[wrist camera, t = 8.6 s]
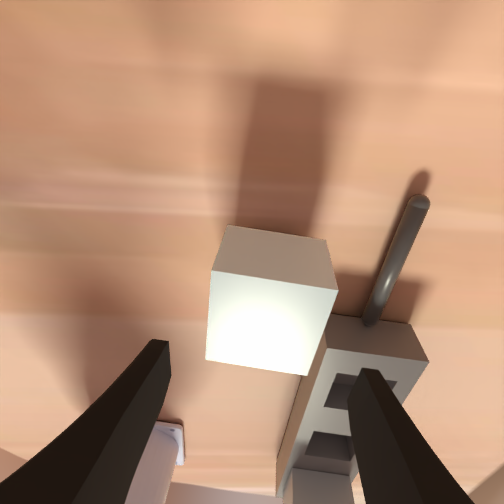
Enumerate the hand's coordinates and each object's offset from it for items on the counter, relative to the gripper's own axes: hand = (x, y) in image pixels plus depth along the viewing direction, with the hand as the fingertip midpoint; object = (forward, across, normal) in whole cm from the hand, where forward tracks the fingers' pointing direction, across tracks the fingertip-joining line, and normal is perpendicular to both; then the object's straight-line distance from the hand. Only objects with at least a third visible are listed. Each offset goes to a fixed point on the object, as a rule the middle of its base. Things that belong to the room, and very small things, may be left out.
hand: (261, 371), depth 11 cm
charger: (+8, 0, 0) cm, 8 cm away
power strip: (+8, -7, +10) cm, 15 cm away
